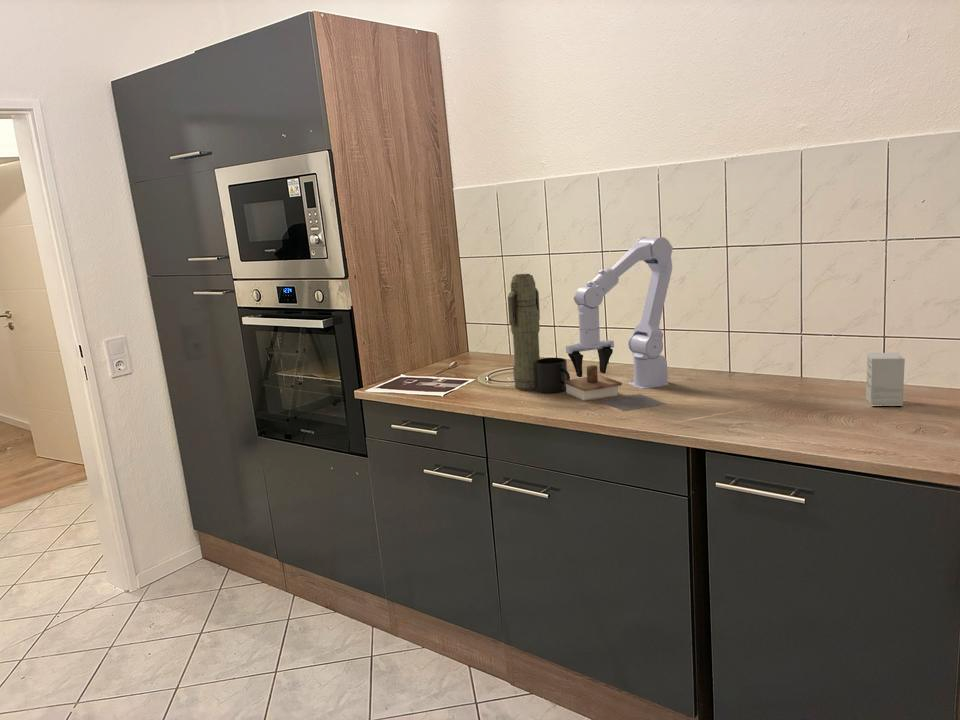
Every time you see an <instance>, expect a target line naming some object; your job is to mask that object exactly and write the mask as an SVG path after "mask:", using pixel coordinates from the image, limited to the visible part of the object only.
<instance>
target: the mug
mask: <svg viewBox="0 0 960 720" xmlns="http://www.w3.org/2000/svg"><path fill="white" fill-rule="evenodd" d="M535 366H536V385H537V389H536V390H537V391H538V392H540V393H542V394H543V393H544V394H556V393H558V394H559V393H562V392H565V391H566V384H565V383H564V381H565V380H571V377H570V373H569V371H568V363H567V359H566V358H562V357H543V358H540V359H539V360H536V361H535Z"/></svg>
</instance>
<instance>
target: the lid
mask: <svg viewBox="0 0 960 720" xmlns="http://www.w3.org/2000/svg"><path fill="white" fill-rule="evenodd" d="M564 383H565V384H567V385H570V386H572V387H575V388H577V389H580V390H582V391H584V392H585V391H591V390H597V389H603V388H609V387H615V386H618V387H619V386H623V384H622V381H621V382H620V381H618V380H615V379H612V378H610V377H607V376H604V375H602V374H598V365H595V364H594V365H593V364H592V365H587V366H586V376H585V377H578V378H572V379H570V380H565V381H564Z"/></svg>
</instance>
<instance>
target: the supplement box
mask: <svg viewBox="0 0 960 720" xmlns="http://www.w3.org/2000/svg"><path fill="white" fill-rule="evenodd" d="M866 355H867V357H866V358H867V359H866V361H867V362H866V390H865V400H866V399H867V400H868V402H869V403H870V405H876V406H877V405H879V406H880V405H881V406H903V405H904V387H905V386H904V384H905V383H904V382H905V364H906V363H905V362H906V359H905V358H904V356H903V355H902V354H900V353H899V352H867V353H866ZM867 400H866V401H867ZM868 402H867V403H868ZM869 403H868V404H869ZM870 405H869V406H870ZM903 407H904V406H903Z"/></svg>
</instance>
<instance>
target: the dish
mask: <svg viewBox="0 0 960 720" xmlns="http://www.w3.org/2000/svg"><path fill="white" fill-rule="evenodd" d="M565 391H566V394H568V395H570V396H572V397H574V398H576V399H578V400H580V401H582V402H587V401H593V400H599V399H600V400H601V399H606V398H607V399H608V398H611V397H613V398H614V397H617V396H618V397H619V386H615V387H609V388H603V389H597V390H591V391H585V392H584V391H582V390H580V389H577V388H575V387H572V386H570V385H567V384H566V390H565Z"/></svg>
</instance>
